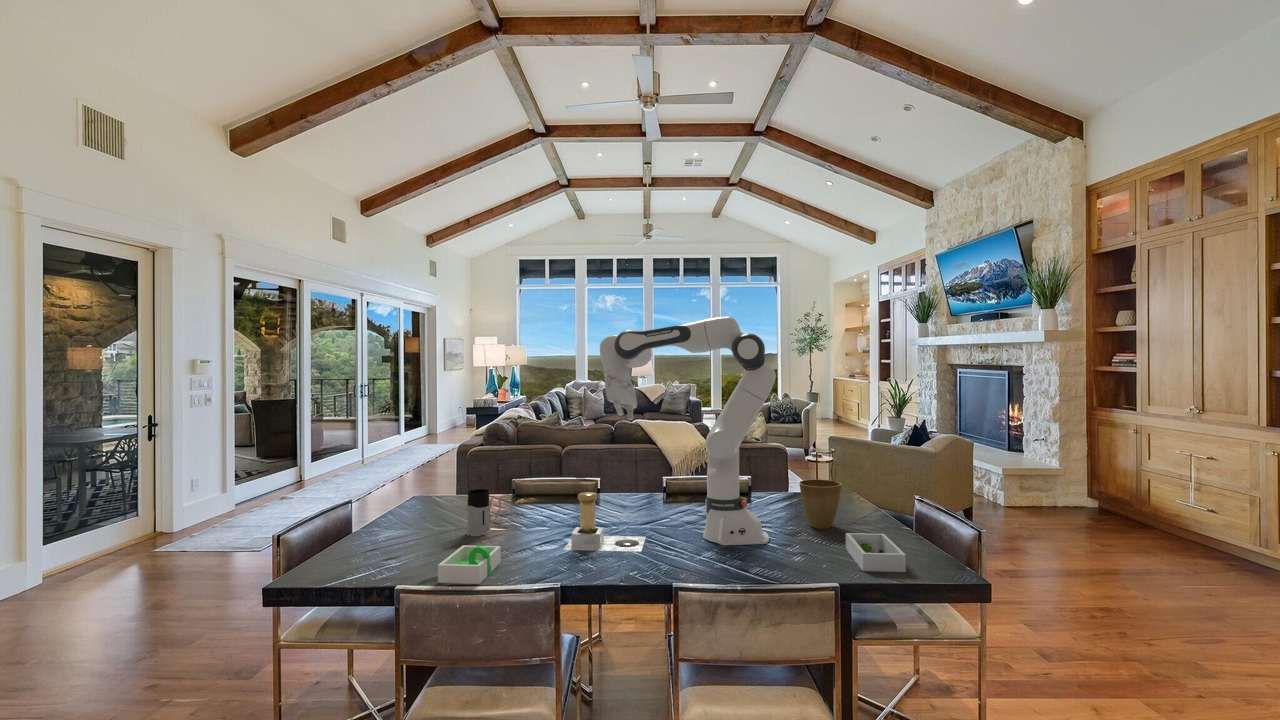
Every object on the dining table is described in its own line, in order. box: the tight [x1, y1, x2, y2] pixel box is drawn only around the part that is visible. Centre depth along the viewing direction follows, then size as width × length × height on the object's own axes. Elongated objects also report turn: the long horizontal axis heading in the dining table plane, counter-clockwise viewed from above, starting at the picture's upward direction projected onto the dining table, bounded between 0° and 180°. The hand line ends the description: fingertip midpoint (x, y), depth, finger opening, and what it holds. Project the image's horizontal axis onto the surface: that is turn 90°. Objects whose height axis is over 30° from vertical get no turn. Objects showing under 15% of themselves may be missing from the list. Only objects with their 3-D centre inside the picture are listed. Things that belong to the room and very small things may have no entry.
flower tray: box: [845, 532, 907, 573], centre depth 186 cm, size 12×21×5 cm, turn 174°
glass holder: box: [466, 488, 502, 537], centre depth 218 cm, size 9×14×15 cm, turn 64°
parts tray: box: [437, 544, 502, 585], centre depth 179 cm, size 12×18×5 cm, turn 174°
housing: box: [563, 526, 647, 553], centre depth 201 cm, size 25×16×6 cm, turn 84°
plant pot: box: [798, 478, 842, 530], centre depth 224 cm, size 15×15×16 cm
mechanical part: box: [455, 545, 492, 576], centre depth 179 cm, size 12×6×8 cm, turn 87°
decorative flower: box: [856, 538, 880, 553], centre depth 186 cm, size 8×6×15 cm
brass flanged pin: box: [577, 491, 598, 533], centre depth 201 cm, size 6×6×16 cm
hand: (625, 417), depth 211 cm, fingers open, 8 cm apart
